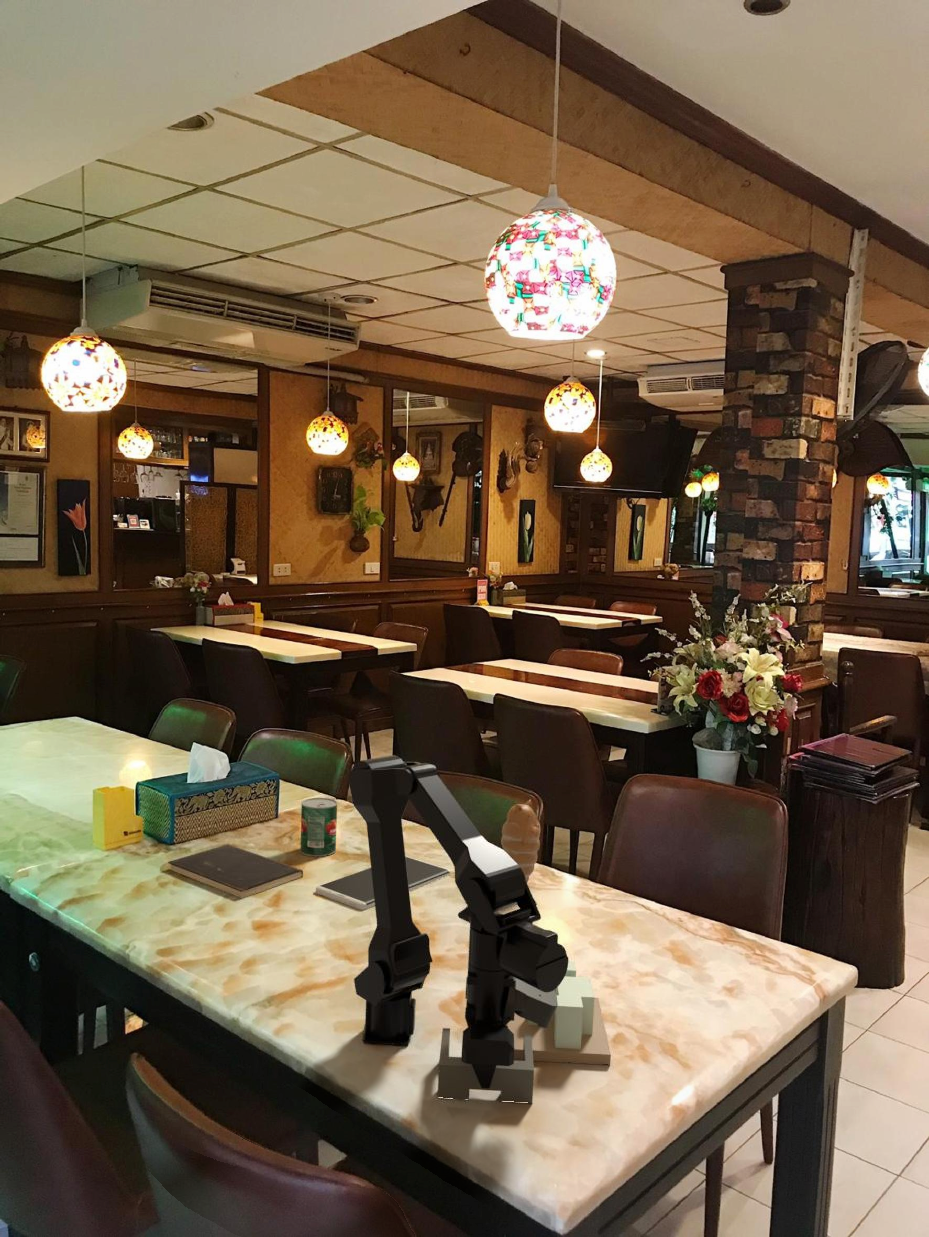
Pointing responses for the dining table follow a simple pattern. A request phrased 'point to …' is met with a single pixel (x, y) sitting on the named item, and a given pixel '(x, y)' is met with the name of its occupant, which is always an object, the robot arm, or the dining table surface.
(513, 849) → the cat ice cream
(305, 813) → the canned tomato
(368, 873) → the smartphone
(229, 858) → the hardcover book
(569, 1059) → the green blocks on base
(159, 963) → the dining table surface
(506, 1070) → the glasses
